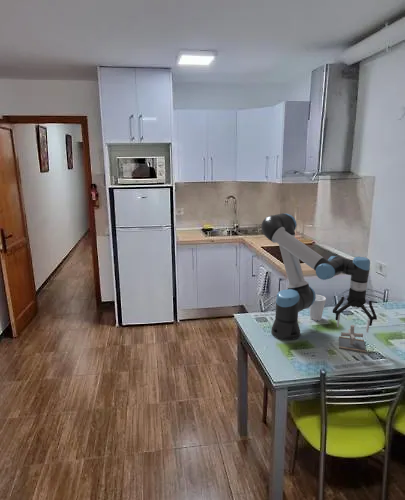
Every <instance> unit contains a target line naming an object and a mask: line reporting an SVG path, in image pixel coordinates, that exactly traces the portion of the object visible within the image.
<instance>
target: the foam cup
mask: <svg viewBox="0 0 405 500" xmlns="http://www.w3.org/2000/svg"><path fill="white" fill-rule="evenodd" d="M315 295H316V298H315V301H314V303H313V304H312V305H311V306H310V307H308V308H309V318H310V320H312V319H313V321H317V320H318V321H321V320H322V318H323V312H324V310H325V304H326V301H327V298H326V296H324V295H320V294H315Z"/></svg>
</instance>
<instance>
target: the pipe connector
mask: <svg viewBox="0 0 405 500" xmlns="http://www.w3.org/2000/svg"><path fill="white" fill-rule="evenodd" d="M340 332H341V331H340ZM340 336H342V337H349V338H350V343H349V344H350V345H353V342H354V341H356V339H357V338H364V333H360V332H359V333H358V332H355V325H354V324H350V328H348V330H347V332H341V333H340Z"/></svg>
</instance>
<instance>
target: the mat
mask: <svg viewBox="0 0 405 500" xmlns="http://www.w3.org/2000/svg"><path fill="white" fill-rule="evenodd" d="M349 343H350V337H349V336H341V335H340V336H338V349H339V350H345V351H352V352H356V353H362V354H366V346H365V340H364V339H361V338H356V341H354V342H353V345H350V344H349Z"/></svg>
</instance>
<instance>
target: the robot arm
mask: <svg viewBox="0 0 405 500" xmlns="http://www.w3.org/2000/svg"><path fill="white" fill-rule="evenodd" d="M297 225H298V224H297V221H296V218H295V217H294V216H293V215H291V214H289V213H279V214H273V215H272V214H271V215H269V216H266V217H265V218H264V219H263V220H262V222H261V233H262V234H263V235H264V237H266V238H267V240H269V241H270V242H271V243H274V244H276V243H277V244H278V246H279V250H280V253H281V258H282V261H283V266H284V269H285V274H286V277H287V281H288V285H287V289H282V290H279V291H278V292H277V294H276V299H275V319H274V321H273V324H272V326H271V330H270V331H271V334H272V336H273V337H275V338H277V339H279V340H284V341H285V340H286V341H293V340H297V339H299V338H300V337H301V329H300V325H299V321H298V320H299V313H300V312H302V311H303V310H305V309H308V308H309V307H310V306H311V305H312V304H313V303H314V301H315V298H316V295H317V294H316V291H315V290H314V288H312V287H311V286H310V285H309V282H308V281H306V280H305V277H304V273H303V268H302V265H301V262H300V261H302V262H303V263H304V264H305V265H307V266H308V267H309V268H311V269H313V270H314V271H315V275H316V276H317V278H318V279H320V280H323V281H324V280H325V281H326V280H330V279H333V277H336V276H338V275H340V274H343V275H347V276H350V281H349V289H348V290H349V291H348V295H347V296H345V295H341V297H340V299H339V301H338V302H337V303H336V305H335V306H334V307H333V308H332V313H333V314H335V321H337V322H336V328H340V327H339V326H340V318H341V314H342V313H343V312H344V311H345V310H346V309H348V308H349V307H352V308H361V310H363V312H364V313H365V315H366V316H367V322H366V328H365V329H366V330H365V332H366V333H369V329H370V327H372V326H373V321H374V320H378V316H377V313H376V312H375V309H374V306H373V300H372V299H371V298H369V299H366V295H367V288H368V281H369V274H370V270H371V268H370V267H371V260H370V259H369V258H368V257H365V256H355V257H353V258H352V259H349V258H344V257H341V256H337V255H336V256H335V255H331V256H330V257H329V258H328V259H326V258H325V257H323V256H322V255H320V254H319V253H318V252H317V251H315V250H313V249H312V248H311V247H310V246H308V245H307V244H305V243H304V242H302V241H300V240H299V239H298V238H296V237H295V236H296V232H295V231H296V230H297ZM345 301H347V302H346V303H345V304H344V305H342V304H343V303H344V302H345ZM365 304H367V305H368V306H369V309H370V311H371V313H372V314H371V313H370V312H369V310H368V309H367V308H366V306H365ZM341 305H342V306H341Z"/></svg>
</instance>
